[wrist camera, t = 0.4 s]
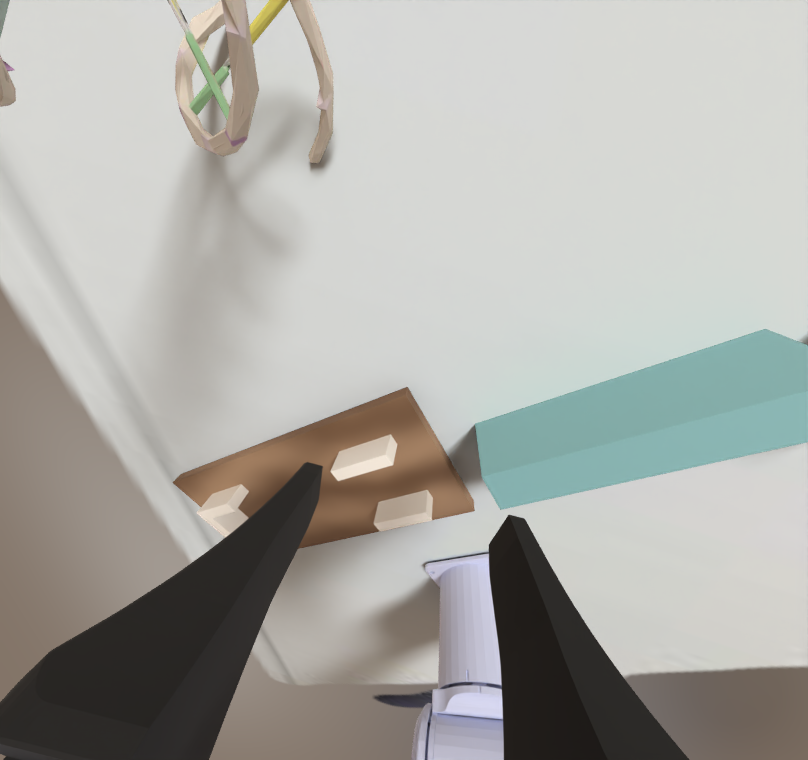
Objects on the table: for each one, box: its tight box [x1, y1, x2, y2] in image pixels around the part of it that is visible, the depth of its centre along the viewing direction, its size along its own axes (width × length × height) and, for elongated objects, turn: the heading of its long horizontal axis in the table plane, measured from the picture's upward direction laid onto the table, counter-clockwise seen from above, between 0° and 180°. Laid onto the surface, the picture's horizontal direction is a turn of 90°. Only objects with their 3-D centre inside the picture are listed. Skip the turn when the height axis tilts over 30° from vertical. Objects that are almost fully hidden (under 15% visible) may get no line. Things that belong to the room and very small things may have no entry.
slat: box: [475, 329, 808, 510], centre depth 17 cm, size 3×16×5 cm, turn 119°
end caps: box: [197, 434, 433, 538], centre depth 25 cm, size 7×19×2 cm, turn 117°
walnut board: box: [173, 387, 474, 549], centre depth 26 cm, size 12×24×1 cm, turn 118°
